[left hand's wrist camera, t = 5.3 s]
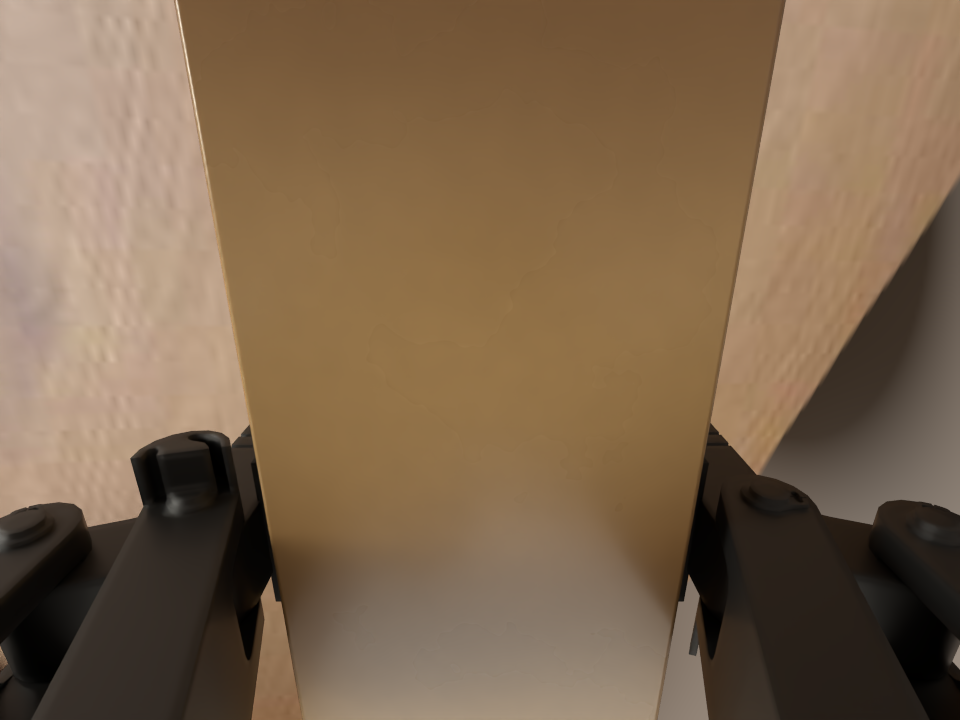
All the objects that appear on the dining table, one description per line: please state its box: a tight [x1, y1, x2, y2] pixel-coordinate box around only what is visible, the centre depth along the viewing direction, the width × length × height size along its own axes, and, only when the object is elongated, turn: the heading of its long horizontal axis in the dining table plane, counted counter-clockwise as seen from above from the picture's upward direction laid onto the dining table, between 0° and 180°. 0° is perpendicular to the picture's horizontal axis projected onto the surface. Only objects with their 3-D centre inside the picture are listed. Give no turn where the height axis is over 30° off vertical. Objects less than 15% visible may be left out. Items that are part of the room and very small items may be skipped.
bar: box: [174, 0, 786, 720], centre depth 8 cm, size 22×5×8 cm, turn 0°
